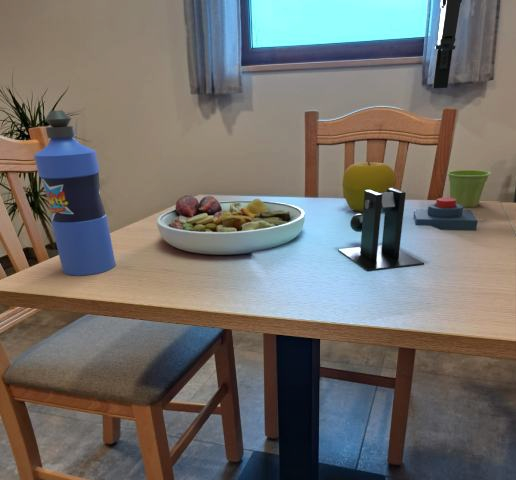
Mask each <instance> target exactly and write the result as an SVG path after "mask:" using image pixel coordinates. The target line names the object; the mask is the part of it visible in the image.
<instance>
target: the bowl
mask: <svg viewBox="0 0 516 480" xmlns="http://www.w3.org/2000/svg"><path fill="white" fill-rule="evenodd" d="M174 207H175V208H174V209H170V210H167V211H165V212H163V213H162V214H160V215H159V216H158V217H157V218H156V226H157V230H158V232H159V234H160V236H161V238H162V239H163V240H164V241H165V242H166V243H168V244H169V245H170V246H172V247H174V248H176V249H179V250H182V251H185V252H187V253H188V252H189V253H193V254H200V255H201V254H203V255H213V256H228V255H229V256H230V255H231V256H233V255H244V254H245V255H246V254H251V253H252V252H256V251H262V250H263V251H264V250H269V249H273V248H276V247H279V246H282V245H285V244H287V243H289V242H291V241H293V240H294V239H295V238H297V236H298V235H299V234H300V233H301V231H302V230H303V227H304V225H305V221H306V219H305V218H306V215H305V214H306V213H305V211H304V209H302V208H301V207H299V206H296V205H293V204H290V203H285V202H278V201H269V200H261V199H260V198H255V199H252V200H223V201H219V200H217V198H216V197H215V196H213V195H205V196H204V197H202V198H201V199H200V200H198V198H197V197H196V196H193V195H189V194H185V195H183V196H182V197H180V198H179V199H178V200H176V202H175V206H174Z"/></svg>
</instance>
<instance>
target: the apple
mask: <svg viewBox="0 0 516 480" xmlns="http://www.w3.org/2000/svg"><path fill="white" fill-rule="evenodd" d="M396 185H397V175H396V172H395V171H394V169H393V167H391V166H390V165H389V164H387V163H384V162H374V161H373V162H372V161H371V162H370V161H365V162H363V161H361V162H355V163H353V164H350V165H349V166H348V167H347V168H346V170H345V171H344V173H343V175H342V185H341V186H342V193H343V196H344V198H345V201H346V203H347V205H348V207H349V208H350V210H352V211H354V212H358V213H363V207H364V193H365V190H371V191H374V192H377V193H386V192H387V189H389V188H393V189H396V188H395V187H396Z"/></svg>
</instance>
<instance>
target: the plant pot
mask: <svg viewBox="0 0 516 480" xmlns="http://www.w3.org/2000/svg"><path fill="white" fill-rule="evenodd" d="M490 175H491V171H488V170H477V169H456V170H450V171H448V172H447V176H448V181H449V198H454V199H456V200H457V201H456V204H459V205H462V206H463V208H474V207H478V206H479V203H480V200H481V196H482V193H483V191H484V187H485V184H486V182H487V181H488V178H489V176H490Z"/></svg>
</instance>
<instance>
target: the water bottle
mask: <svg viewBox="0 0 516 480" xmlns="http://www.w3.org/2000/svg"><path fill="white" fill-rule="evenodd" d="M44 120H45V121H46V123H47V124H49V125H50V126H46V127H45V133H46V136H47V139H50V140H49V141H48V143H47V145H46V146H44V147H43V148H42V149H40V150H39V151H37V152H35V153H34V154H33V157H34V161H35V166H36V170H37V173H38V177H39V178H40V180H41V183H42V186H43V188H44V191H45V195H46V197H47V200H48V202H49V204H48V205H49V212H50V222H51V228H52V231H53V236H54V240H55V244H56V249H57V253H58V257H59V261H60V265H61V269H62V273H64V274H65V275H68V276H80V277H81V276H90V275H91V276H92V275H96V274H101V273H105V272H107V271H110V270H112V269H114V268H115V267H116V259H115V254H114V248H113V243H112V242H113V241H112V238H111V237H112V236H111V231H110V227H109V221H108V216H107V214H106V209H105V207H104V205H103V201H102V197H101V188H100V187H101V186H100V166H99V161H98V156H97V151H96V150H95V149H93V148H90V147H88V146H86V145H83V144H81V143H80V142H79V141H78V140H77V139H76V138H75V137H77V134H76V129H75V125H69V124H70V123H71V121H72V117H71V116H70V115H68V113H66V112H65V111H64V110H50V111H49V112H48V114H47V116H46V117H45V118H44Z"/></svg>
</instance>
